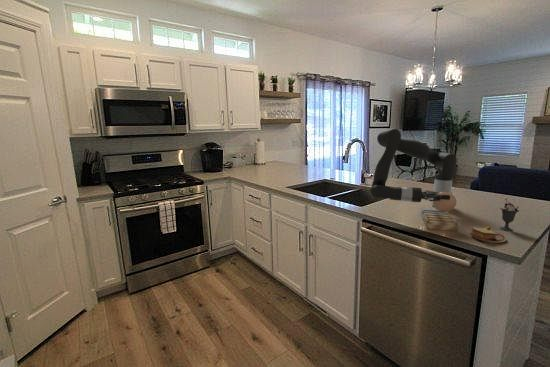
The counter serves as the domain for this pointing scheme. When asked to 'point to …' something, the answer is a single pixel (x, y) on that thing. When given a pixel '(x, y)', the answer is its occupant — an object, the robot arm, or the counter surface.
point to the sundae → (508, 215)
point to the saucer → (445, 203)
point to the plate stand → (432, 212)
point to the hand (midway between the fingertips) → (449, 196)
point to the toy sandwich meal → (487, 235)
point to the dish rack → (439, 221)
